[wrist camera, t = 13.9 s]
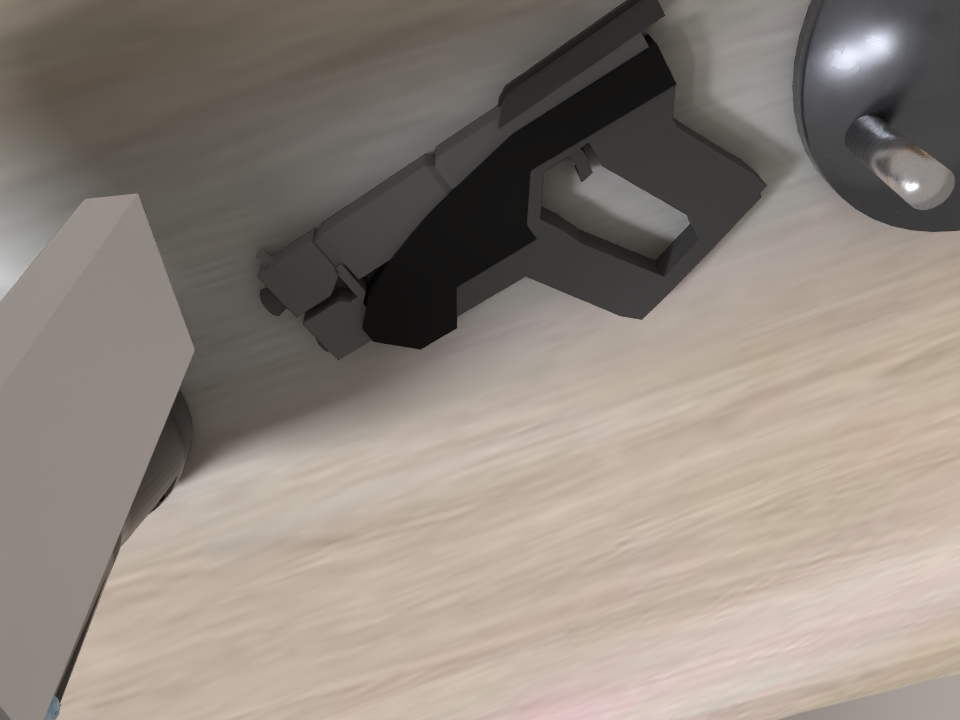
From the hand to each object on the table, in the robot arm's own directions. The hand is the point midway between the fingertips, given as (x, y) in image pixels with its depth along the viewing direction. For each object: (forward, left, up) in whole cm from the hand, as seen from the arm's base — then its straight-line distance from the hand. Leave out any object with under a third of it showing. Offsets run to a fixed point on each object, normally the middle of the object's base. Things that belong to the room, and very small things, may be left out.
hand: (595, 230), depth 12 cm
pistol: (0, -15, -29) cm, 33 cm away
